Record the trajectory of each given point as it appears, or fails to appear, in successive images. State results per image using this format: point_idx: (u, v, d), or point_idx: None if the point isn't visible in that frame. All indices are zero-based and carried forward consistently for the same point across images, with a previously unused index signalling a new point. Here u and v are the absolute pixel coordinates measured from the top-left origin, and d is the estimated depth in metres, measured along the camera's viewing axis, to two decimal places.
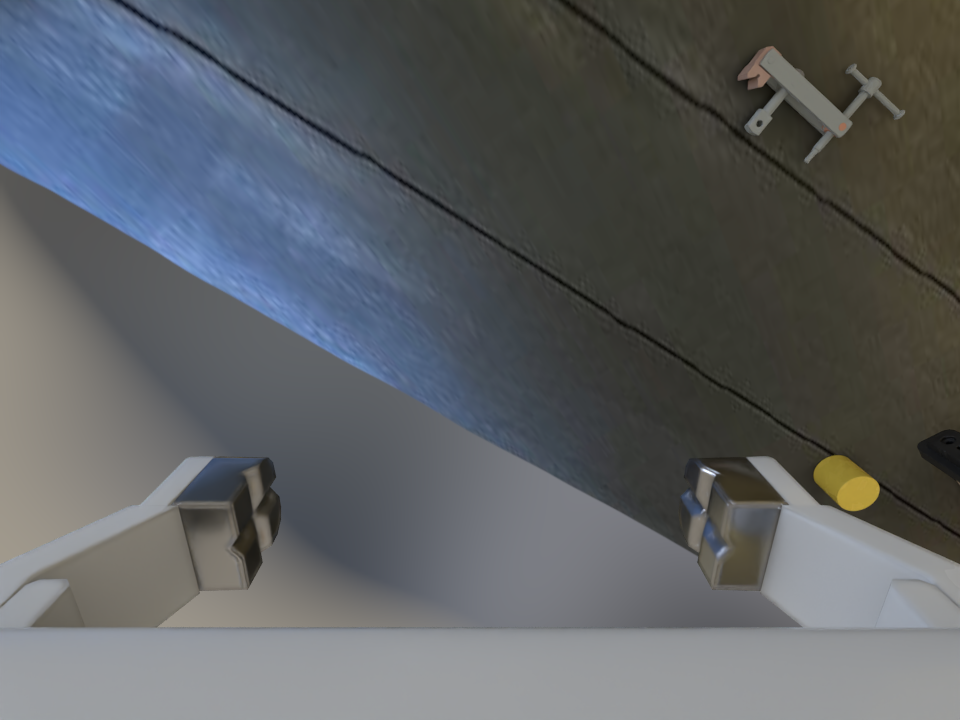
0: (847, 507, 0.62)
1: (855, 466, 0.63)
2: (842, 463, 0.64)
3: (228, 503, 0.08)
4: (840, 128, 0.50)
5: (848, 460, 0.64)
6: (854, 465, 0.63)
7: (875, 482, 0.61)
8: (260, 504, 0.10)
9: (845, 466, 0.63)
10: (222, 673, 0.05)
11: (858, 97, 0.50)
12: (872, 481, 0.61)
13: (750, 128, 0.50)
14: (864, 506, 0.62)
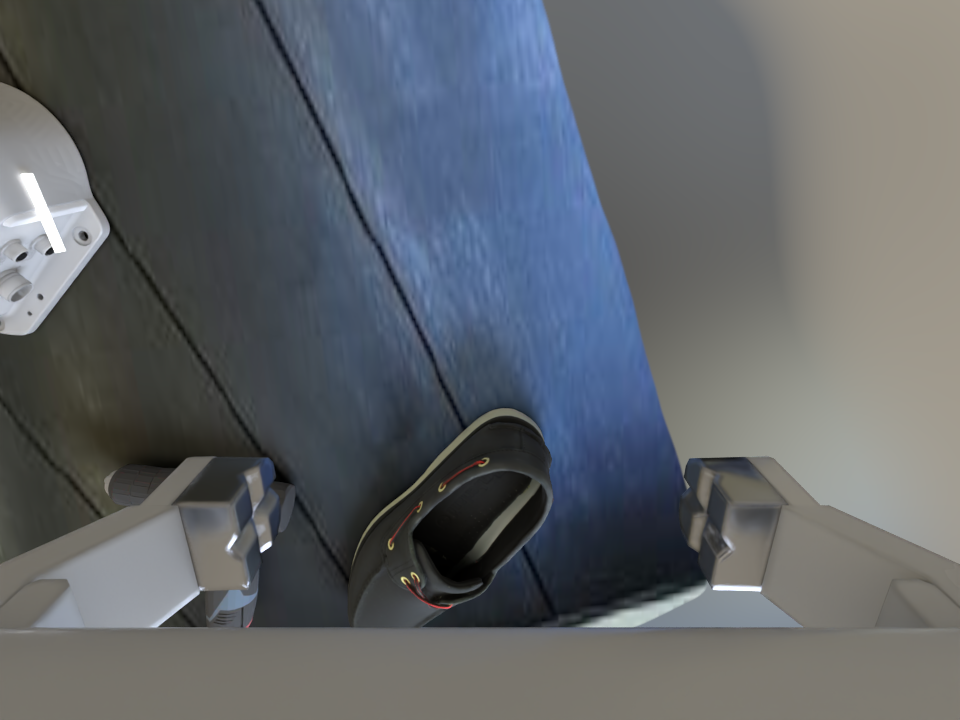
0: None
1: None
2: None
3: (228, 503, 0.08)
4: None
5: None
6: None
7: None
8: (260, 504, 0.10)
9: None
10: (221, 674, 0.05)
11: None
12: None
13: None
14: None
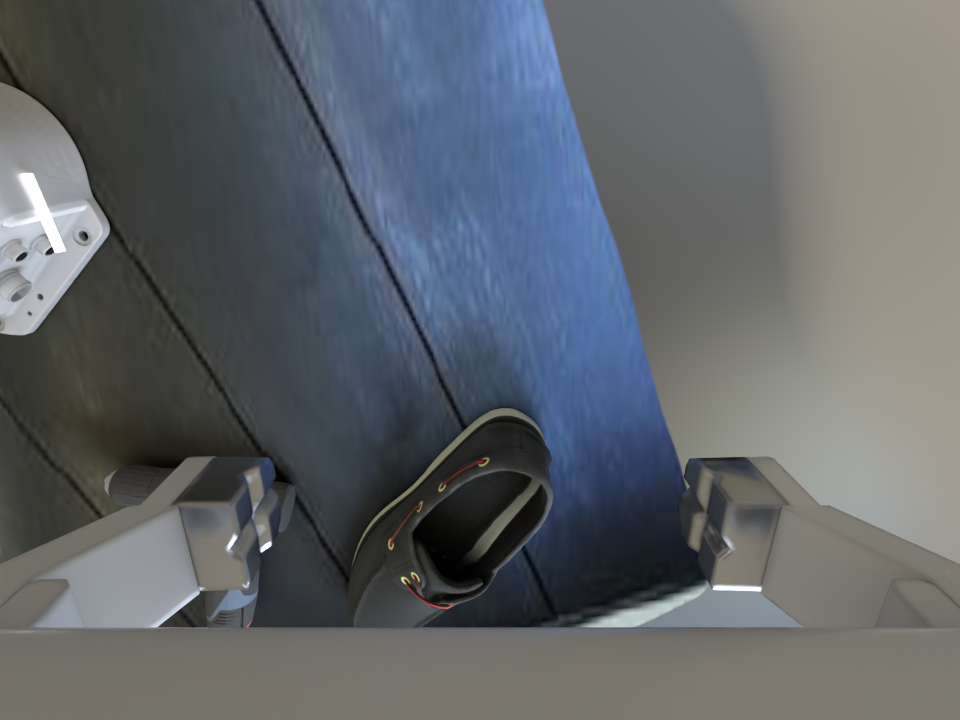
0: None
1: None
2: None
3: (228, 503, 0.08)
4: None
5: None
6: None
7: None
8: (260, 504, 0.10)
9: None
10: (221, 672, 0.05)
11: None
12: None
13: None
14: None
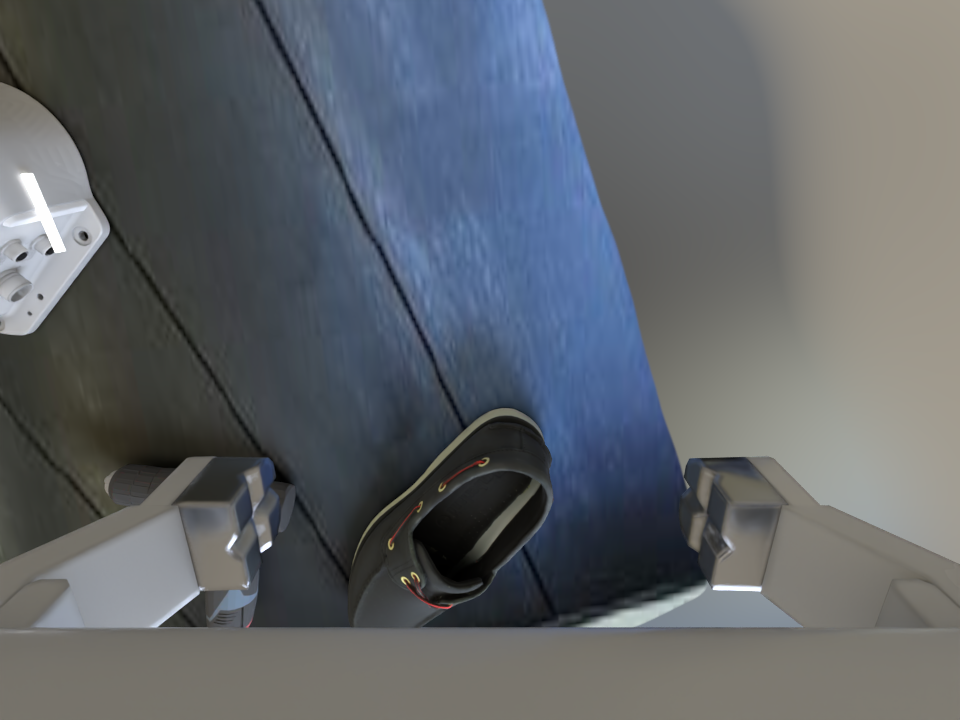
0: None
1: None
2: None
3: (228, 503, 0.08)
4: None
5: None
6: None
7: None
8: (260, 504, 0.10)
9: None
10: (221, 672, 0.05)
11: None
12: None
13: None
14: None
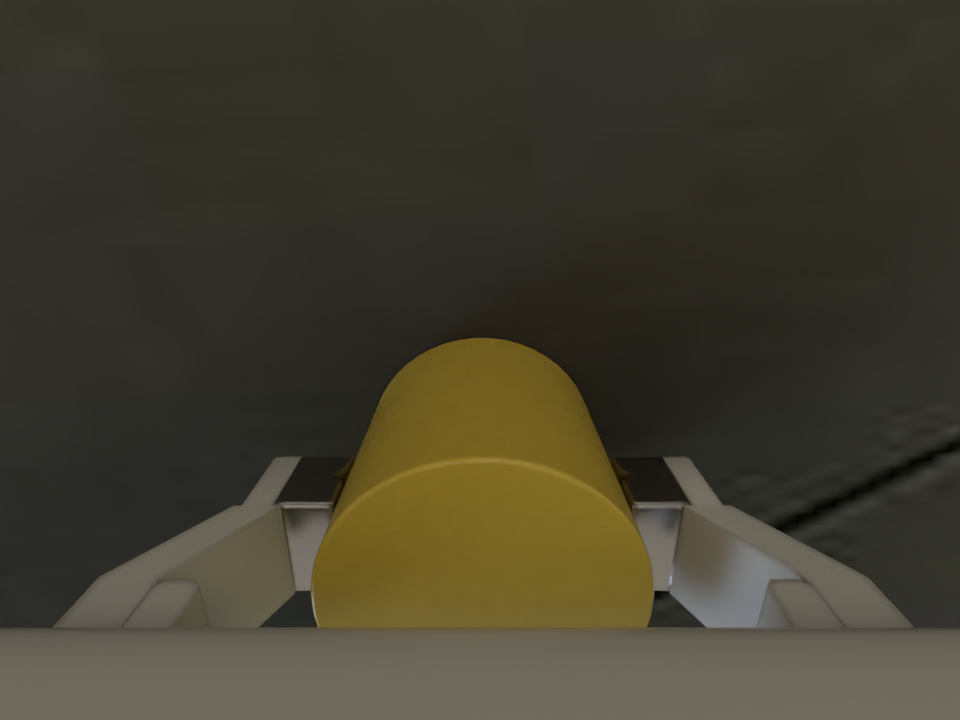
0: None
1: (424, 397, 0.09)
2: (381, 414, 0.10)
3: (329, 503, 0.08)
4: None
5: (434, 365, 0.10)
6: (428, 390, 0.09)
7: (507, 471, 0.07)
8: None
9: (372, 431, 0.09)
10: (221, 672, 0.05)
11: None
12: (477, 479, 0.07)
13: None
14: None
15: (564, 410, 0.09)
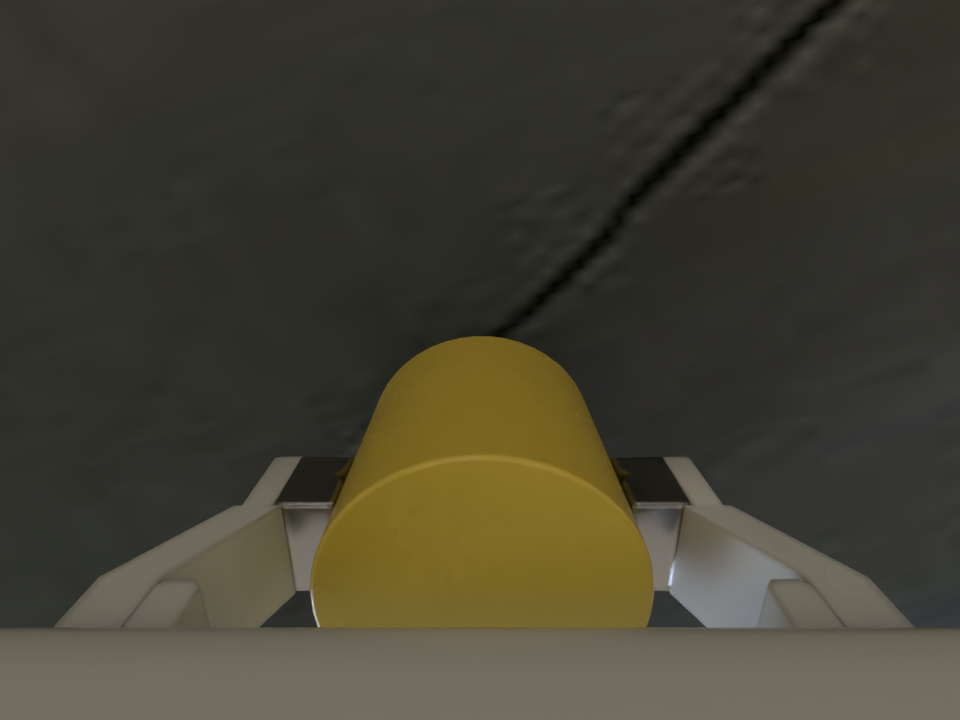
0: None
1: (423, 395, 0.09)
2: None
3: (329, 503, 0.08)
4: None
5: (434, 363, 0.10)
6: (427, 388, 0.09)
7: (507, 469, 0.07)
8: None
9: (372, 429, 0.09)
10: (221, 672, 0.05)
11: None
12: (477, 477, 0.07)
13: None
14: None
15: (564, 408, 0.09)
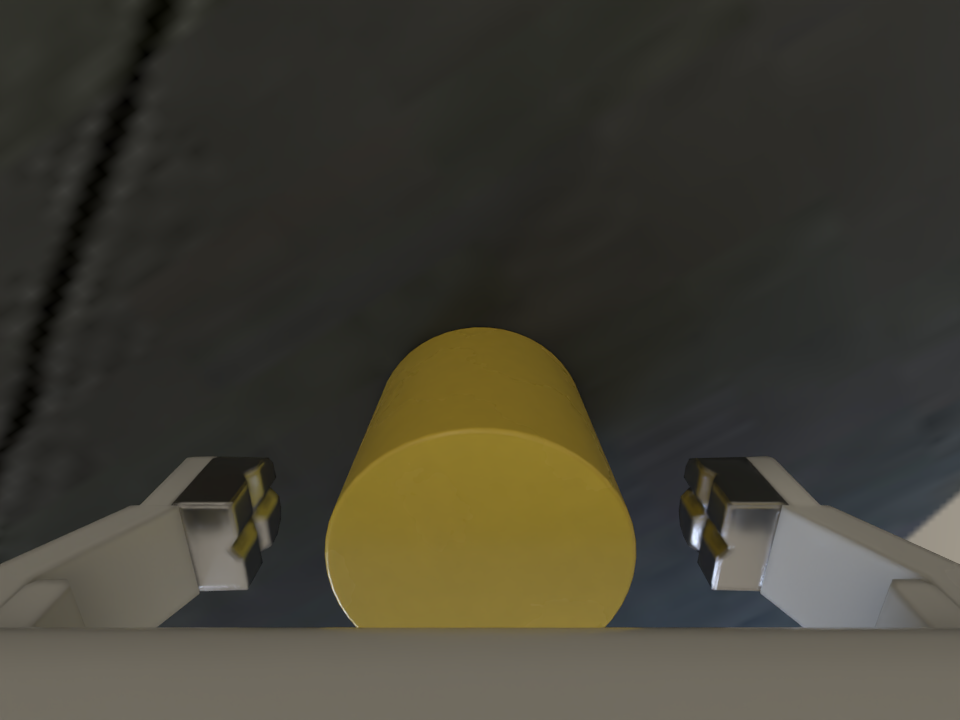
0: None
1: (427, 379, 0.09)
2: (387, 397, 0.10)
3: (228, 503, 0.08)
4: None
5: (436, 352, 0.11)
6: (431, 373, 0.10)
7: (502, 441, 0.07)
8: (260, 504, 0.10)
9: (379, 412, 0.10)
10: (221, 672, 0.05)
11: None
12: (475, 448, 0.07)
13: None
14: (604, 602, 0.08)
15: (556, 391, 0.09)
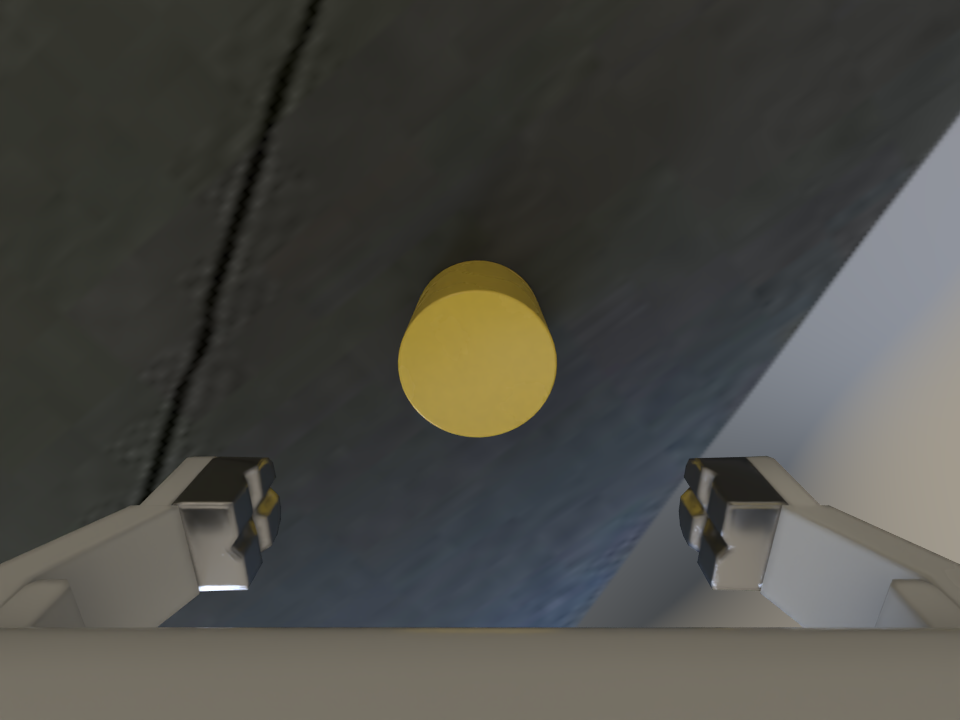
0: (499, 424, 0.17)
1: (441, 284, 0.17)
2: (420, 301, 0.18)
3: (228, 503, 0.08)
4: None
5: (445, 274, 0.19)
6: (443, 281, 0.18)
7: (479, 295, 0.15)
8: (260, 504, 0.10)
9: (417, 306, 0.18)
10: (221, 672, 0.05)
11: None
12: (467, 301, 0.15)
13: None
14: (544, 382, 0.16)
15: (512, 283, 0.17)
